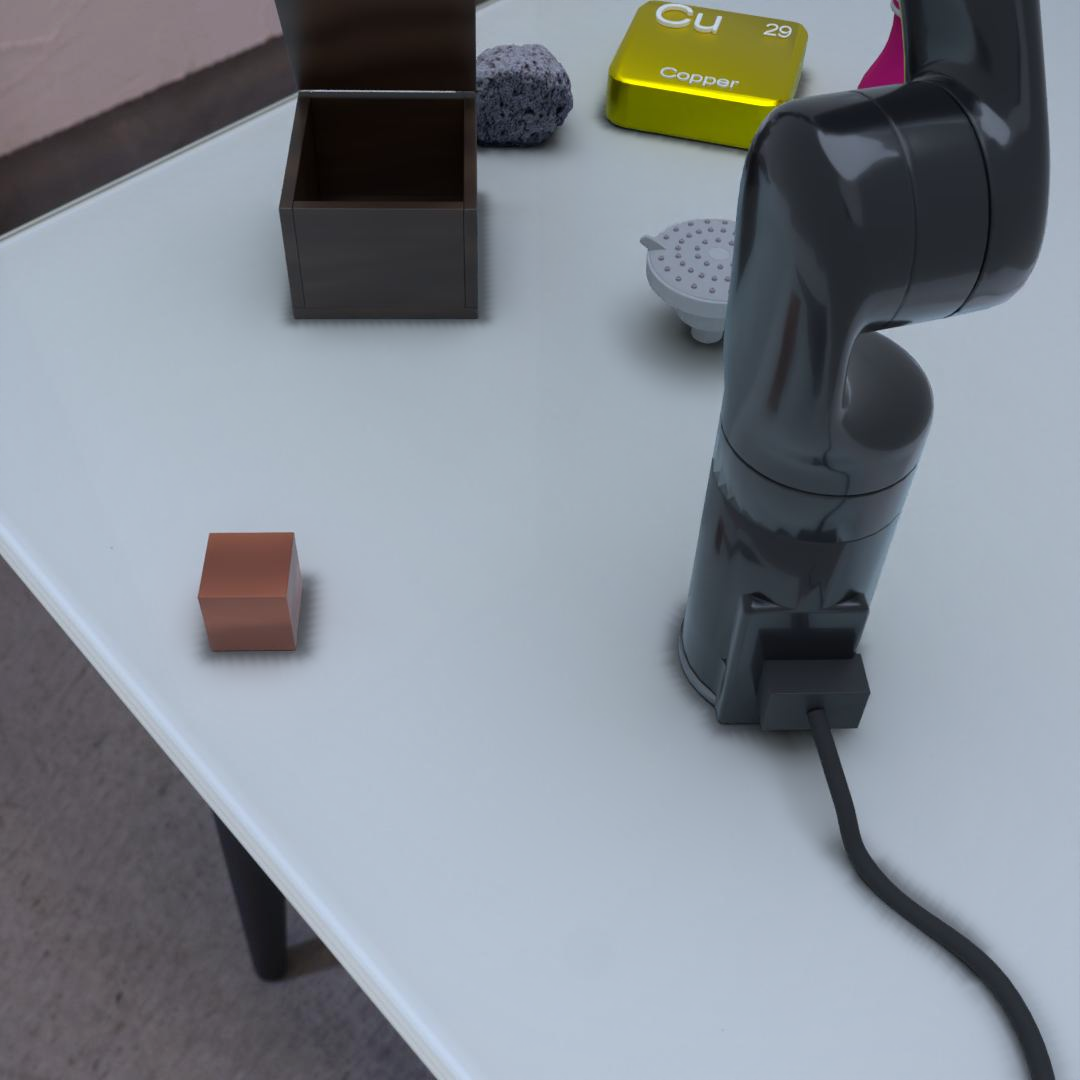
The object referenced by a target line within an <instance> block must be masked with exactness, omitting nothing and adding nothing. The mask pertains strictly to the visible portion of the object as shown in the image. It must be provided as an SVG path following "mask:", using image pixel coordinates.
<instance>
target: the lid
mask: <svg viewBox="0 0 1080 1080" xmlns="http://www.w3.org/2000/svg"><path fill="white" fill-rule="evenodd" d="M273 1H274V5H275V8H276V12H277V16H278V21H279V23H280V28H281V31H282V35H283V39H284V42H285V47H286V51H287V54H288V58H289V62H290V66H291V70H292V74H293V77H294V81H295V85H296V89H297V90H298V91H372V92H455V91H476V59H477V7H476V6H477V3H476V2H477V0H273Z"/></svg>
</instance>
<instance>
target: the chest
mask: <svg viewBox="0 0 1080 1080" xmlns="http://www.w3.org/2000/svg"><path fill="white" fill-rule="evenodd" d="M278 213H279V220H280V228H281V229H280V230H281V235H282V243H283V250H284V251H283V252H284V257H285V264H286V272H287V278H288V284H289V285H288V286H289V292H290V301H291V307H292V315H293V319H478V318H479V254H478V253H479V240H478V239H479V237H478V233H479V232H478V230H479V229H478V228H479V225H478V223H479V222H478V216H479V215H478V143H477V94H476V93H459V92H455V91H328V90H298V93H297V99H296V105H295V112H294V117H293V123H292V129H291V134H290V140H289V145H288V151H287V157H286V164H285V170H284V175H283V181H282V187H281V194H280V199H279V205H278Z"/></svg>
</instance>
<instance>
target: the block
mask: <svg viewBox="0 0 1080 1080" xmlns="http://www.w3.org/2000/svg"><path fill="white" fill-rule="evenodd" d="M200 576H201V577H200V582H199V588H198V593H197V600H198V604H199V608H200V612H201V615H202V620H203V622H204V627H205V632H206V635H207V639H208V642H209V643H208V644H209V646H210V647H209V648H210V650H211V651H212V652H222V651H224V652H225V651H226V652H228V651H235V652H236V651H295V650H296V649H297V645H298V635H299V624H300V618H301V607H302V598H303V590H304V589H303V588H304V583H303V578H302V571H301V565H300V560H299V553H298V549H297V541H296V536H295V532H293V531H279V532H278V531H277V532H275V531H271V532H268V531H267V532H266V531H265V532H264V531H261V532H257V531H256V532H209V534H208V537H207V543H206V549H205V554H204V559H203V566H202V571H201V575H200Z"/></svg>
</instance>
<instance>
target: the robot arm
mask: <svg viewBox="0 0 1080 1080" xmlns="http://www.w3.org/2000/svg"><path fill="white" fill-rule="evenodd" d="M899 7H900V16H901V24H902V35H903V48H904V83H899V84H892V85H885V86H878V87H871V88H864V89H857V88H856V89H851V90H843V91H837V92H836V91H835V92H829V93H823V94H815V95H809V96H805V97H799V98H798V97H797V98H794V100H791V101H787V102H785V103H782V104H780V105H779V106H777V107H775V108H774V109H773V110H772V111H771V112H770V113H769V114H768V115H767V116H766V117H765V118H764V120H763V121H762V122H761V124H760V125H759V127H758V129H757V131H756V133H755V135H754V137H753V139H752V141H751V144H750V147H749V149H747V153H746V156H745V159H744V162H743V168H742V172H741V176H740V182H739V188H738V189H739V190H738V196H737V197H738V198H737V204H736V215H735V222H736V224H735V235H734V246H733V258H732V267H731V277H730V286H729V294H728V302H727V309H726V318H725V326H724V331H723V342H722V343H723V345H722V347H723V348H722V349H723V350H722V351H723V385H724V386H723V389H724V390H723V395H722V401H721V407H720V414H719V419H718V425H717V429H716V430H717V431H716V435H715V440H714V446H713V452H712V458H711V461H710V462H711V463H710V468H709V474H708V479H707V486H706V491H705V496H704V501H703V502H704V503H703V507H702V508H703V509H702V514H701V520H700V525H699V529H698V530H699V531H698V536H697V542H696V547H695V553H694V560H693V564H692V571H691V576H690V582H689V587H688V593H687V602H686V607H685V613H684V617H683V619H682V622H681V625H680V629H679V637H678V655H679V661H680V665H681V667H682V669H683V671H684V674H685V676H686V677H687V679H688V680H689V682H690V683H691V685H692V686H693V687H694V689H695V690H697V692H698V693H699V694H700V695H701V696H702V697H703V698H704V699H706V700H707V701H708V702H709V703H711V704H712V705H713V706H714V709H715V712H716V719H717V721H718V722H719V723H722V724H760V728H761V730H762V731H777V730H780V731H783V730H784V731H787V730H788V731H789V730H810V731H811V734H812V738H813V740H814V744H815V748H816V751H817V754H818V757H819V762H820V764H821V767H822V771H823V774H824V777H825V780H826V784H827V787H828V790H829V794H830V798H831V800H832V803H833V807H834V809H835V810H834V811H835V814H836V820H837V823H838V828H839V833H840V837H841V841H842V845H843V848H844V850H845V853H846V854H847V857H848V859H849V861H850V862H851V864H852V865H853V867H854V868H855V869H856V871H857V872H858V874H859V875H860V877H861V878H862V879H863V881H864V882H865V883H866V884H867V885H868V887H870V888H871V890H872V891H873V892H874V893H875V894H876V895H877V896H878V897H879V898H880V899H881V900H882V901H883V902H884V903H885V904H887V906H888V907H890V908H891V909H892V910H893V911H894V912H896V913H897V914H899V915H900V916H901V917H903V918H904V920H906V921H907V922H909V923H910V924H912V925H913V926H915V928H917V929H918V930H920V931H921V932H923V933H924V934H926V935H927V936H929V937H930V938H932V939H933V940H934V941H936V942H937V943H938V944H940V945H942V946H943V947H944V948H946V949H947V950H949V951H950V952H951V953H953V954H954V955H955V956H957V958H959V959H960V960H961V961H963V963H965V964H966V965H967V966H969V968H971V969H972V970H973V971H974V972H975V973H976V975H978V976H979V977H980V978H981V979H982V980H983V981H984V983H985V984H986V985H987V986H988V987H989V988H990V990H991V991H992V993H993V994H994V995H995V997H996V999H997V1000H998V1001H999V1003H1000V1004H1001V1006H1002V1007H1003V1009H1004V1011H1005V1012H1006V1014H1007V1017H1008V1018H1009V1019H1010V1021H1011V1023H1012V1025H1013V1028H1014V1030H1015V1032H1016V1034H1017V1036H1018V1039H1019V1041H1020V1044H1021V1046H1022V1048H1023V1051H1024V1054H1025V1056H1026V1060H1027V1063H1028V1067H1029V1070H1030V1074H1031V1078H1032V1080H1056V1075H1055V1072H1054V1069H1053V1065H1052V1060H1051V1058H1050V1055H1049V1052H1048V1049H1047V1045H1046V1043H1045V1041H1044V1038H1043V1036H1042V1034H1041V1032H1040V1031H1041V1030H1040V1029H1039V1026H1038V1025H1037V1023H1036V1021H1035V1019H1034V1016H1033V1014H1032V1012H1031V1010H1030V1009H1029V1007H1028V1006H1027V1004H1026V1002H1025V1000H1024V999H1023V997H1022V995H1021V994H1020V992H1019V991H1018V990H1017V988H1016V986H1015V985H1014V984H1013V982H1012V981H1011V980H1010V978H1009V976H1008V975H1007V974H1006V973H1005V972H1004V971H1003V970H1002V969H1001V968H1000V966H999V965H998V964H997V963H996V962H995V961H994V960H993V959H992V958H991V957H990V956H989V955H987V954H986V952H984V951H983V950H982V948H980V947H979V946H978V945H976V944H975V943H974V942H972V940H970V939H968V938H967V937H966V936H964V935H963V934H962V933H961V932H959V931H958V930H956V929H955V928H954V927H952V926H950V924H948V923H946V922H945V921H943V920H942V919H940V918H939V917H937V916H936V915H934V914H933V913H932V912H930V911H928V909H926V908H924V907H923V906H922V905H920V904H919V903H917V902H916V901H914V900H913V899H912V898H910V896H908V895H907V894H906V893H904V892H903V891H902V890H901V889H900V888H899V887H898V886H896V884H895V883H893V882H892V881H891V880H890V878H889V877H888V876H887V875H886V874H885V873H884V872H883V871H882V870H881V868H880V867H879V866H878V864H877V863H876V862H875V860H874V859H873V857H872V856H871V855H870V853H869V852H868V850H867V848H866V846H865V844H864V841H863V839H862V835H861V831H860V827H859V821H858V817H857V812H856V807H855V805H854V801H853V797H852V794H851V790H850V789H849V784H848V782H847V778H846V775H845V772H844V769H843V764H842V762H841V759H840V756H839V753H838V748H837V746H836V743H835V740H834V736H833V733H832V730H848V729H850V730H852V729H853V730H854V729H859V726H860V723H861V720H862V717H863V715H864V712H865V709H866V707H867V704H868V701H869V698H870V696H871V689H870V684H869V680H868V677H867V672H866V668H865V665H864V660H863V658H862V657H863V656H862V653H858V647H859V646H860V642H861V639H862V636H863V633H864V630H865V628H866V625H867V621H868V619H869V616H870V610H871V609H870V606H871V605H872V601H873V599H874V595H875V592H876V589H877V586H878V583H879V580H880V577H881V574H882V571H883V568H884V565H885V562H886V560H887V557H888V554H889V551H890V548H891V545H892V542H893V539H894V536H895V533H896V530H897V527H898V524H899V521H900V518H901V515H902V513H903V509H904V506H905V504H906V501H907V498H908V496H909V493H910V491H911V487H912V484H913V481H914V479H915V475H916V472H917V469H918V466H919V463H920V461H921V458H922V455H923V452H924V449H925V446H926V443H927V440H928V437H929V434H930V432H931V427H932V425H933V420H934V413H935V399H934V391H933V388H932V385H931V382H930V380H929V378H928V375H927V373H926V372H925V370H924V369H923V368H922V367H921V365H920V364H919V362H918V361H917V360H916V359H915V358H914V356H912V355H911V353H909V351H907V349H905V348H904V347H902V346H901V345H900V344H898V343H897V342H895V341H894V340H892V339H891V338H889V337H887V336H885V334H883V333H880V332H878V331H884V330H890V329H894V328H899V327H905V326H910V325H915V324H916V325H917V324H921V323H927V322H931V321H936V320H943V319H948V318H952V317H957V316H963V315H966V314H972V313H975V312H980V311H985V310H989V309H992V308H994V307H997V306H1000V305H1001V304H1005V303H1006V302H1007V301H1009V300H1011V298H1012V297H1014V296H1015V295H1016V294H1017V293H1018V292H1020V290H1021V289H1023V287H1024V286H1025V285H1026V283H1027V281H1028V279H1029V278H1030V276H1031V275H1032V272H1033V271H1034V269H1035V267H1036V265H1037V262H1038V260H1039V257H1040V255H1041V251H1042V247H1043V245H1044V244H1043V243H1044V240H1045V235H1046V230H1047V226H1048V216H1049V205H1050V194H1051V193H1050V192H1051V136H1050V119H1049V105H1048V88H1047V74H1046V62H1045V49H1044V48H1045V47H1044V36H1043V25H1042V24H1043V23H1042V9H1041V0H899Z"/></svg>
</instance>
